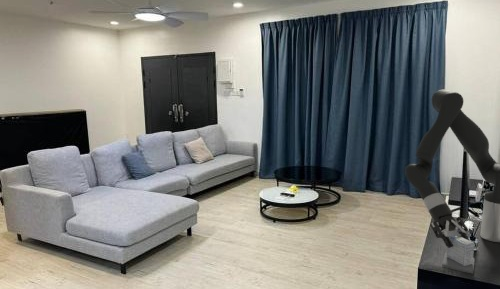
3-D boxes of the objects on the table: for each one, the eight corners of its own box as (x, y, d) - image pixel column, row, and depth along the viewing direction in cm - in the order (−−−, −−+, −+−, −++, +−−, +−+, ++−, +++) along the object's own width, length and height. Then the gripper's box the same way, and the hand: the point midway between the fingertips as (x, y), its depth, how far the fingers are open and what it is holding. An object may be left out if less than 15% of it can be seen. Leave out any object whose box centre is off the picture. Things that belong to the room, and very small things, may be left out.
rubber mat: (445, 253, 146) (445, 251, 146) (474, 260, 140) (474, 257, 140) (442, 266, 136) (442, 264, 136) (473, 274, 130) (473, 271, 130)
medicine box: (472, 264, 135) (475, 242, 134) (463, 266, 134) (466, 244, 132) (454, 255, 142) (456, 234, 141) (446, 257, 141) (448, 236, 140)
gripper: (429, 204, 140) (452, 244, 132) (456, 200, 145) (480, 238, 137) (417, 213, 146) (438, 252, 138) (444, 208, 151) (466, 246, 142)
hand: (459, 245), depth 137 cm, fingers open, 8 cm apart
